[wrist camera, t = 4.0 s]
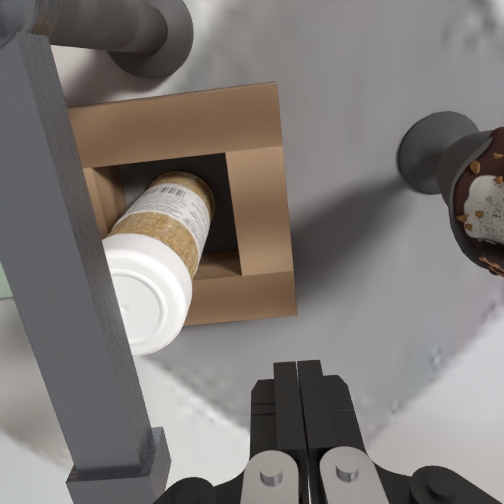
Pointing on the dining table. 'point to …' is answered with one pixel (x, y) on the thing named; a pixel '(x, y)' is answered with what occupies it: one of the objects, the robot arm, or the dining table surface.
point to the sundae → (462, 180)
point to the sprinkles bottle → (159, 257)
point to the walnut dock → (188, 151)
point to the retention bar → (67, 275)
